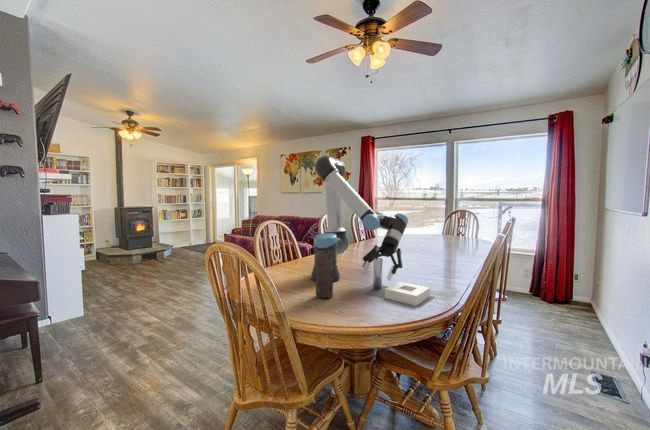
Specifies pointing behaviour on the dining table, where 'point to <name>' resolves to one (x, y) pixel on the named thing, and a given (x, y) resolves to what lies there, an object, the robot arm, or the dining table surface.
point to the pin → (377, 274)
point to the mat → (381, 294)
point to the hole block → (407, 293)
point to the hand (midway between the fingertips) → (375, 276)
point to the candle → (324, 274)
